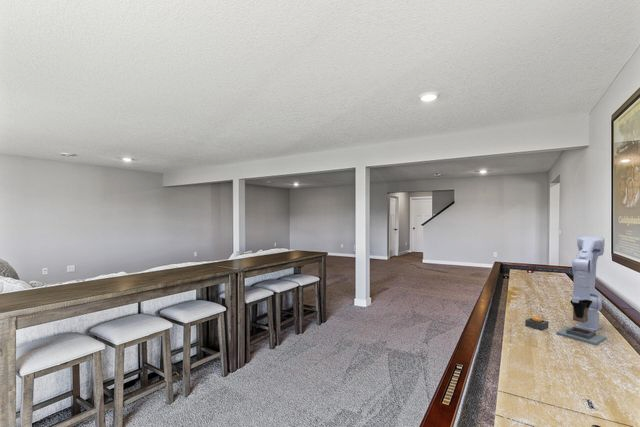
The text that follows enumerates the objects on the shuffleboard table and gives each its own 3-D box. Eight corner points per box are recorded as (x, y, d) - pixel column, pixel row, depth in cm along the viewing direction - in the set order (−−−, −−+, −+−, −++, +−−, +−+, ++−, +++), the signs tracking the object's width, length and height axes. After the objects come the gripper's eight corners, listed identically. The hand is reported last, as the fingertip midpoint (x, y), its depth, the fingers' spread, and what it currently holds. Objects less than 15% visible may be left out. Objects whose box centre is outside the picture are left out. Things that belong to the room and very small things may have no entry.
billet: (576, 318, 144) (576, 305, 144) (587, 321, 140) (587, 307, 140) (572, 320, 141) (573, 306, 141) (584, 322, 138) (584, 309, 138)
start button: (534, 319, 155) (534, 315, 155) (543, 322, 151) (543, 318, 151) (530, 321, 152) (530, 317, 152) (539, 323, 149) (539, 319, 149)
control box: (531, 323, 157) (532, 317, 157) (548, 327, 151) (548, 321, 151) (525, 326, 153) (525, 319, 153) (541, 330, 147) (542, 324, 147)
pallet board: (567, 328, 150) (567, 323, 150) (606, 339, 138) (606, 333, 138) (556, 334, 143) (556, 328, 143) (596, 345, 131) (596, 339, 131)
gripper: (576, 282, 148) (576, 311, 148) (564, 286, 140) (563, 316, 140) (596, 285, 142) (595, 316, 142) (584, 289, 134) (583, 321, 134)
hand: (581, 316), depth 141 cm, fingers closed on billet, 4 cm apart
